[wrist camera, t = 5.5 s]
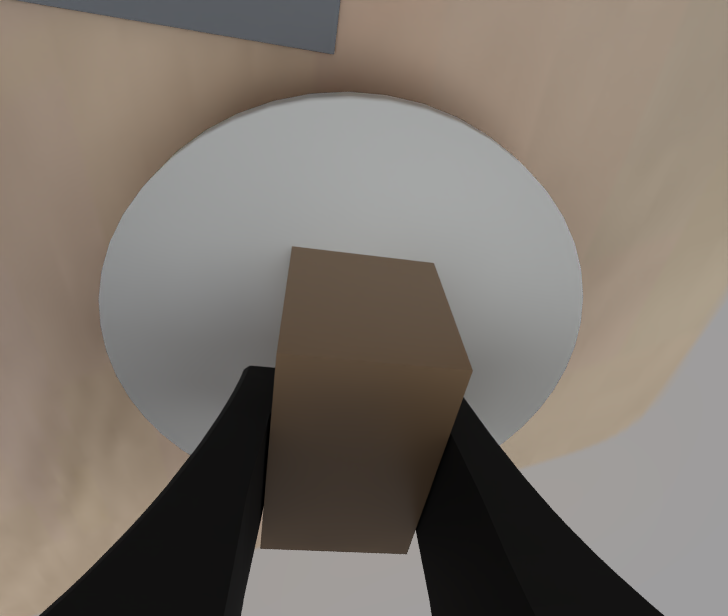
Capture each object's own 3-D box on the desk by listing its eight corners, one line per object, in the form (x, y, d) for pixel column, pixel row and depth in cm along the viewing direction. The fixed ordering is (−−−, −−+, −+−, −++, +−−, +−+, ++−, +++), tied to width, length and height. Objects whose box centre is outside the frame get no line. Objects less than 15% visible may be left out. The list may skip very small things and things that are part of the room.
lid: (134, 461, 15) (71, 619, 11) (78, 44, 9) (-95, 91, 5) (491, 483, 16) (538, 627, 13) (650, 138, 10) (824, 224, 7)
